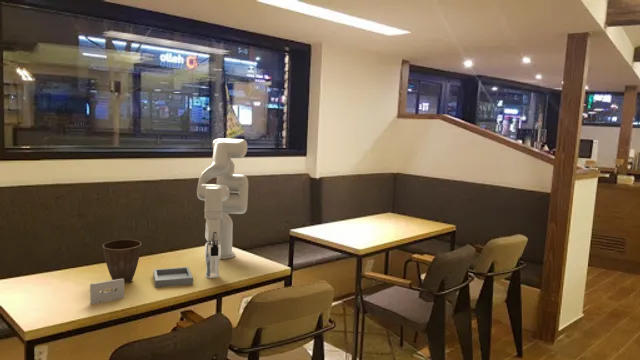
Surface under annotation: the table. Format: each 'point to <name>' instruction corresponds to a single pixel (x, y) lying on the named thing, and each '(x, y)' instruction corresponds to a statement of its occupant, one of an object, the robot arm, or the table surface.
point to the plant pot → (122, 258)
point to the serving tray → (172, 277)
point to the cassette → (109, 295)
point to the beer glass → (212, 261)
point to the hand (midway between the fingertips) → (212, 253)
